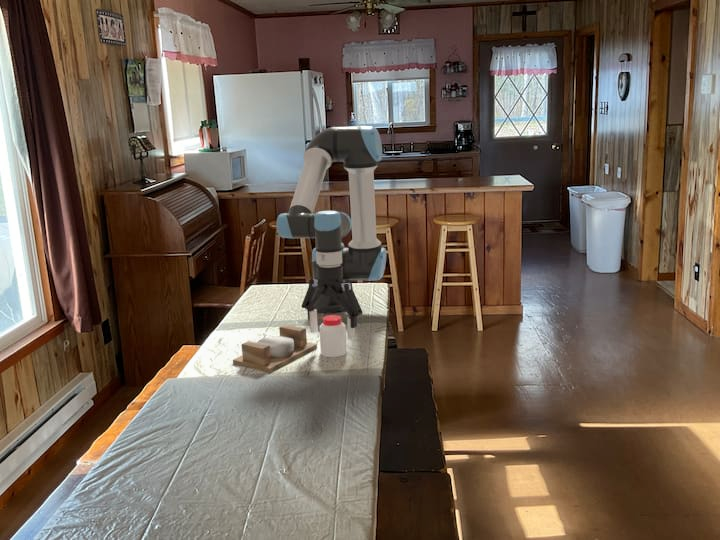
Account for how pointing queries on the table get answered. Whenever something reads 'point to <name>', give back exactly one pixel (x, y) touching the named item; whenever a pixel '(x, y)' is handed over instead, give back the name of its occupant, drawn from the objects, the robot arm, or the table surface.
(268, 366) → the cardboard packaging tray
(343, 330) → the pill bottle
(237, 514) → the table surface
